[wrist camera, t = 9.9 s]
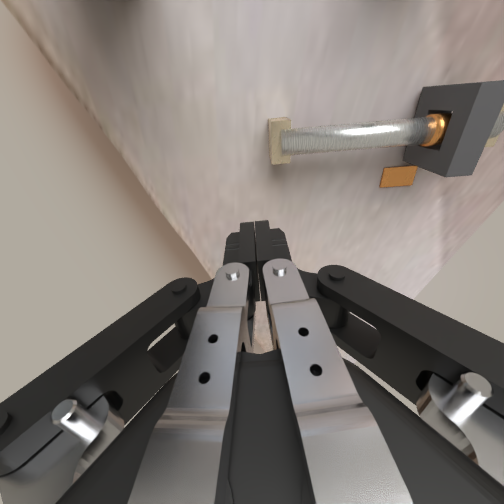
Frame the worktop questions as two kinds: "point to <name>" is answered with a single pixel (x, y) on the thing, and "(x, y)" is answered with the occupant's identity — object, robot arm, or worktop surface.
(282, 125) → the pipe
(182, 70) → the worktop surface
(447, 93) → the collar
